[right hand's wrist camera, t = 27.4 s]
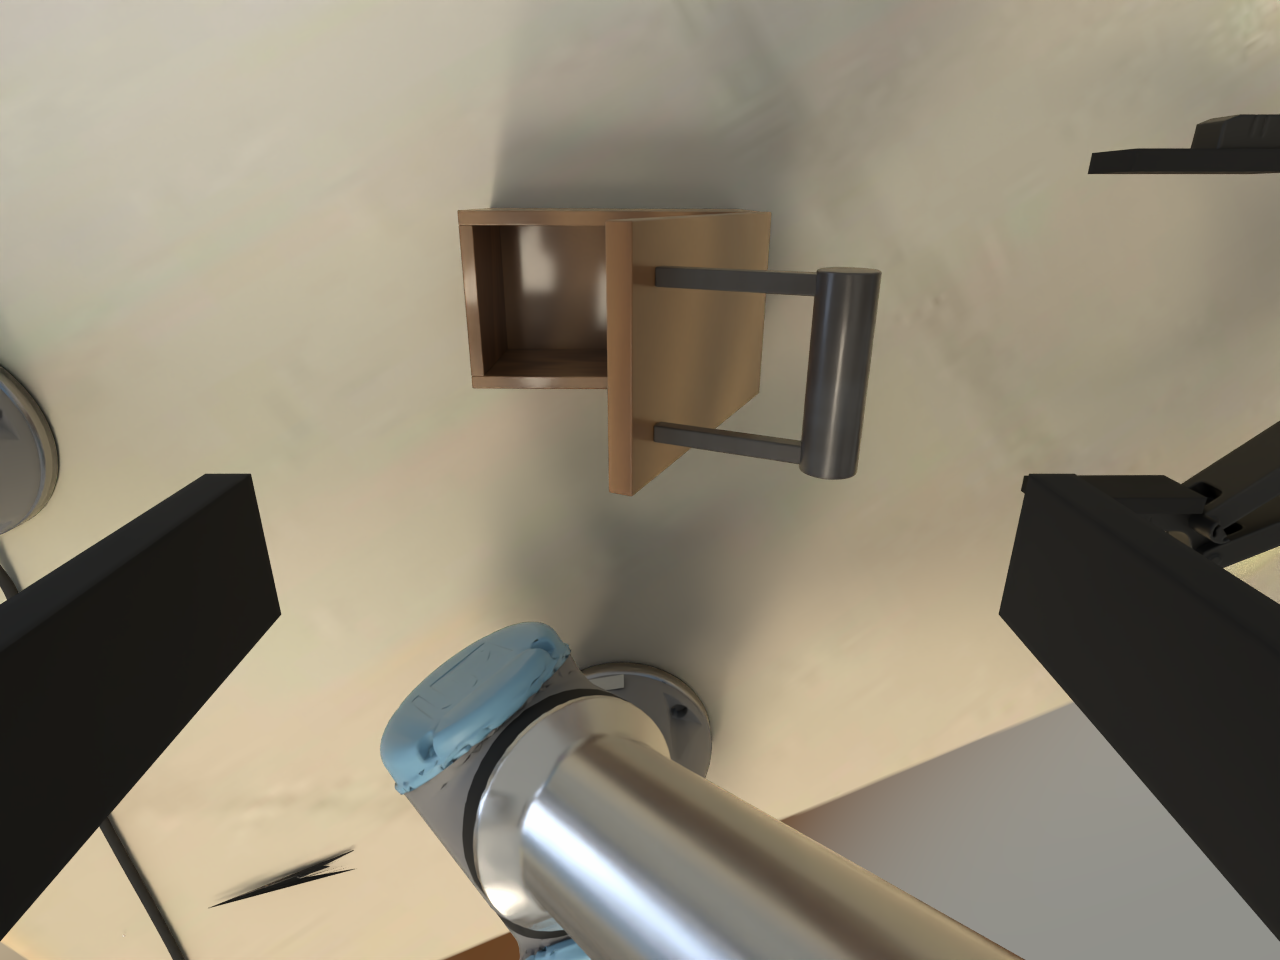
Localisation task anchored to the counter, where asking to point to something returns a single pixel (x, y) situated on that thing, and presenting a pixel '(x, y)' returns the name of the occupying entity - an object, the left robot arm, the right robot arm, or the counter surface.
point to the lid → (723, 346)
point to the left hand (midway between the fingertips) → (1070, 342)
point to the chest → (540, 293)
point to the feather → (289, 881)
